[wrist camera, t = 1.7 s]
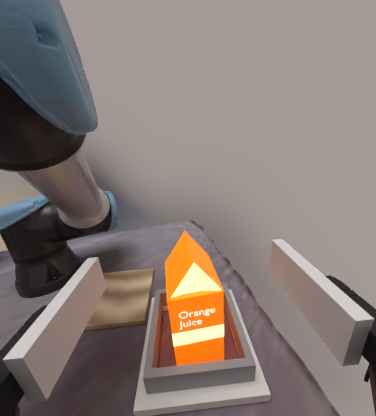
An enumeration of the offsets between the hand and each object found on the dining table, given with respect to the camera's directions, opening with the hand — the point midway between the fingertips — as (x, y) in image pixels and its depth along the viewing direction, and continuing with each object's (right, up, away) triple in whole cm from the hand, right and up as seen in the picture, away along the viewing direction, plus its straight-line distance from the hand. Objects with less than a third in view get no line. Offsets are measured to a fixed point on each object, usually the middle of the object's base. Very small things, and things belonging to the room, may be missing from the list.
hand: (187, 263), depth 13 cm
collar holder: (+2, -20, +18) cm, 27 cm away
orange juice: (+2, -20, +18) cm, 27 cm away
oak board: (-17, -17, +29) cm, 38 cm away
